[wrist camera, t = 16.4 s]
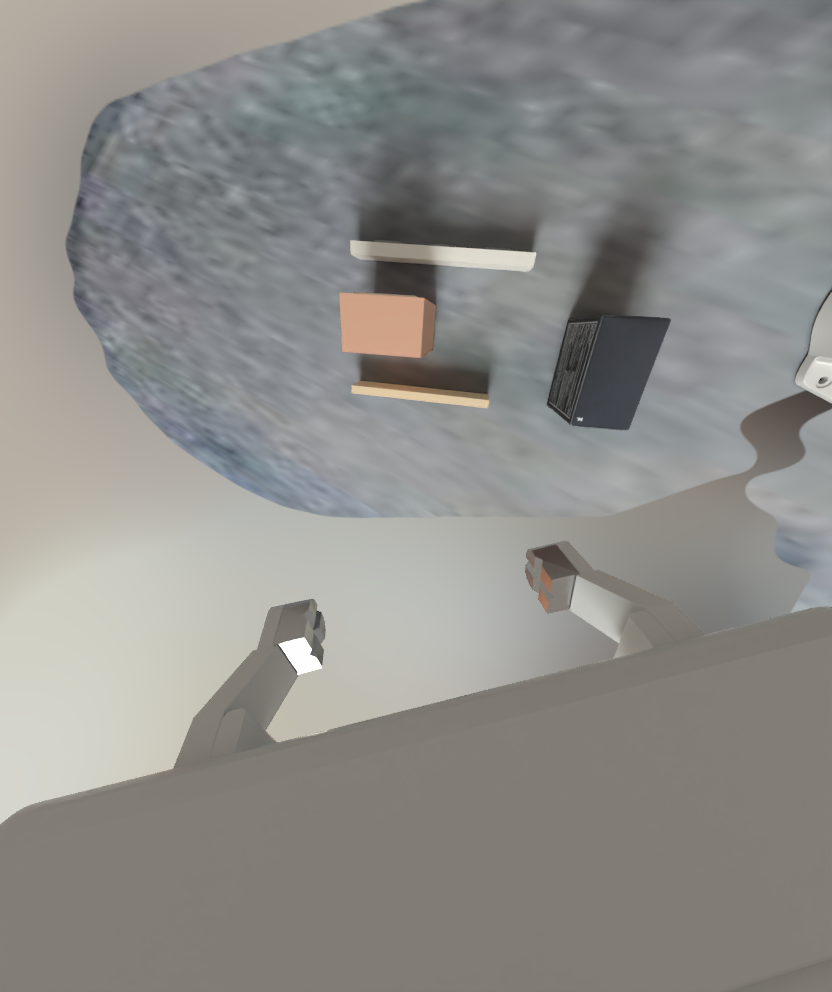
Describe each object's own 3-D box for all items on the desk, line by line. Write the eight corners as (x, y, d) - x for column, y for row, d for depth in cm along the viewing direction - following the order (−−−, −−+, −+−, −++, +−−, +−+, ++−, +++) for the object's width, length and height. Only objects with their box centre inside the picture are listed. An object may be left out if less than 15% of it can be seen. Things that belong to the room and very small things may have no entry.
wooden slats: (531, 255, 35) (538, 247, 31) (500, 403, 43) (503, 410, 39) (359, 243, 37) (348, 235, 33) (360, 387, 45) (351, 392, 41)
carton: (432, 350, 41) (420, 357, 30) (373, 345, 42) (342, 351, 31) (436, 303, 38) (424, 295, 28) (373, 300, 39) (339, 290, 29)
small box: (595, 410, 41) (631, 433, 32) (545, 406, 42) (566, 428, 33) (624, 320, 36) (677, 317, 27) (567, 317, 37) (599, 314, 28)
